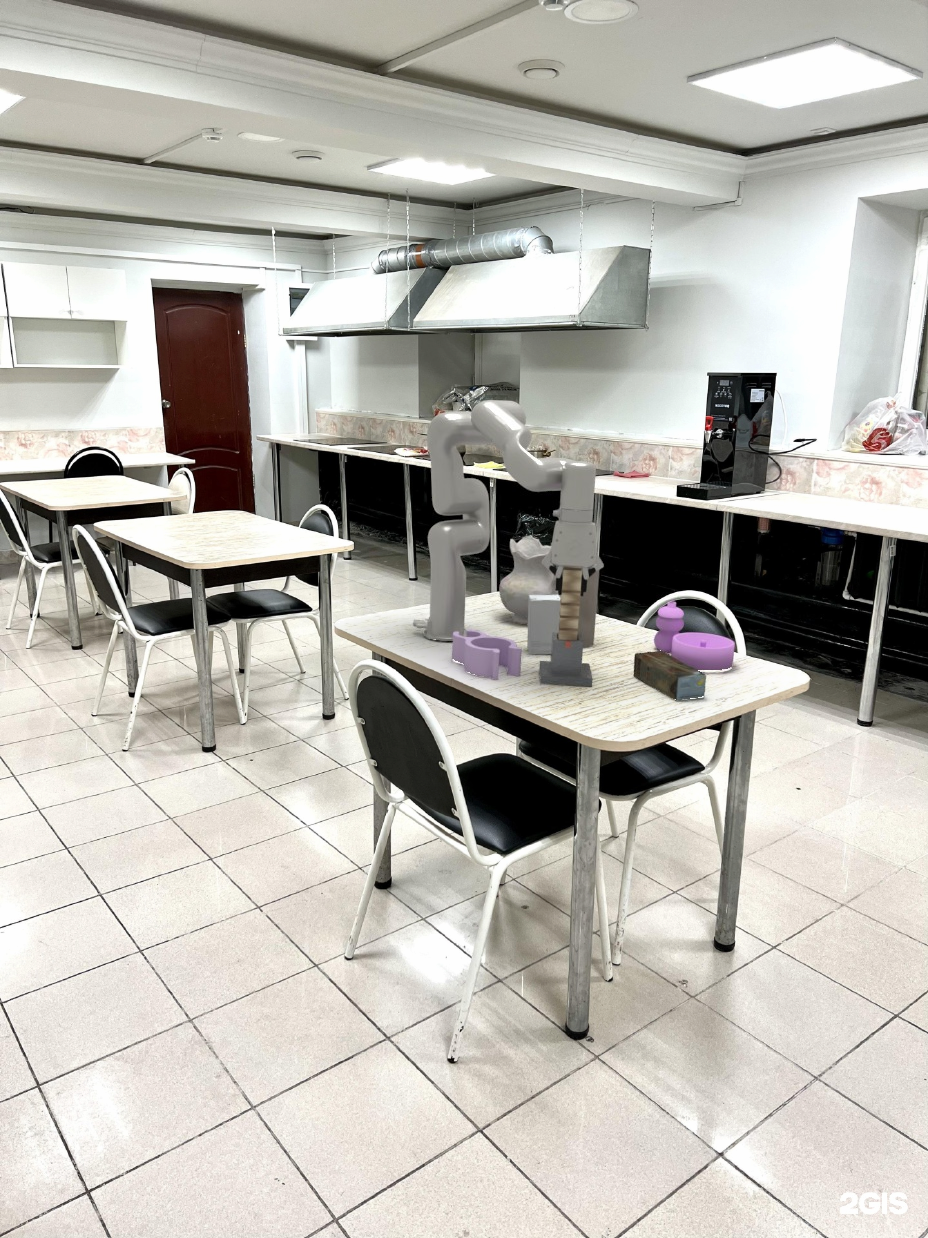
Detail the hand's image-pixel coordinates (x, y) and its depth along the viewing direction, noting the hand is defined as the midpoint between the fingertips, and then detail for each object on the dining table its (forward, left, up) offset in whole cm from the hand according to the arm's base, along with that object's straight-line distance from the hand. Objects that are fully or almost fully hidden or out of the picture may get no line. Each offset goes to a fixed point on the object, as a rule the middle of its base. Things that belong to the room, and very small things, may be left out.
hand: (570, 593), depth 212 cm
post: (0, 0, -18) cm, 18 cm away
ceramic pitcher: (-7, +53, -21) cm, 57 cm away
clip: (-20, +5, -21) cm, 29 cm away
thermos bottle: (+5, +31, -21) cm, 38 cm away
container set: (+33, +22, -21) cm, 45 cm away
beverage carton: (+24, -3, -21) cm, 32 cm away
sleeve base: (0, 0, -20) cm, 20 cm away
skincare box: (-5, +21, -21) cm, 30 cm away
